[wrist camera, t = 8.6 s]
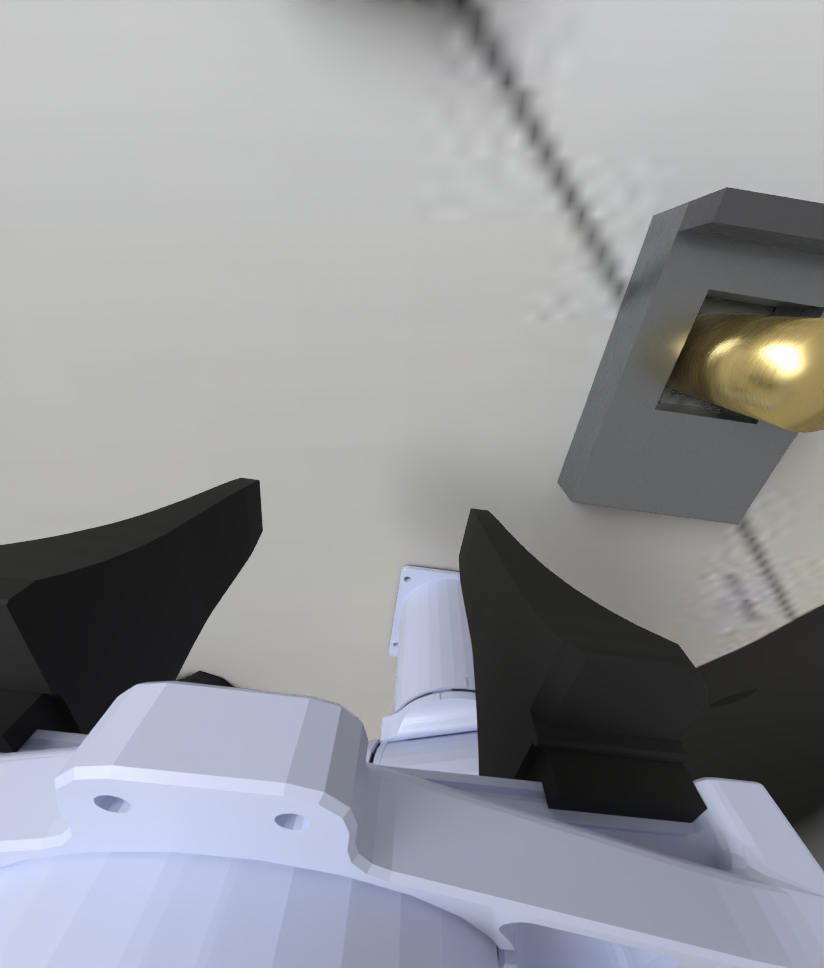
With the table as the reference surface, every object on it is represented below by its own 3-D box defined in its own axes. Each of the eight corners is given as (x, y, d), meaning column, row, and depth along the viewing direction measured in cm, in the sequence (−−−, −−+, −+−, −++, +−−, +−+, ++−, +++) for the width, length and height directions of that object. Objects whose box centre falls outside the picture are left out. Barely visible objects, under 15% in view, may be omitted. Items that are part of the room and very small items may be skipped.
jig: (707, 503, 23) (767, 544, 19) (557, 482, 23) (585, 520, 19) (857, 249, 17) (992, 232, 13) (653, 215, 17) (727, 187, 13)
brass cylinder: (707, 400, 20) (833, 443, 14) (643, 381, 20) (745, 416, 14) (755, 326, 19) (924, 338, 12) (687, 303, 18) (826, 304, 12)
